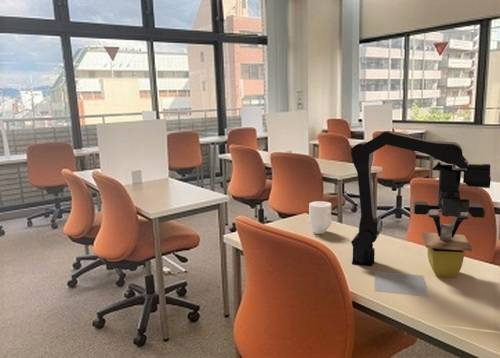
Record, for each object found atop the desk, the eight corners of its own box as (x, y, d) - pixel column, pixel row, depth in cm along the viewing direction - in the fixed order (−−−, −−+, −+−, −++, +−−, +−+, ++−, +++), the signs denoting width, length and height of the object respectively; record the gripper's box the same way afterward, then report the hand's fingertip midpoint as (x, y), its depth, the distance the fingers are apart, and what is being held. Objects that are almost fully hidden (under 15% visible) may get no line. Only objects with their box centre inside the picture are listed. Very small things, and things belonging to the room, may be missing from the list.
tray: (374, 291, 116) (374, 290, 116) (374, 271, 129) (374, 271, 129) (428, 297, 111) (428, 296, 111) (423, 276, 125) (423, 275, 125)
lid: (425, 247, 120) (426, 230, 119) (421, 234, 131) (422, 218, 130) (471, 250, 116) (473, 233, 115) (463, 237, 127) (464, 221, 126)
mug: (304, 230, 171) (305, 202, 169) (322, 228, 175) (323, 200, 173) (320, 238, 161) (321, 208, 158) (338, 235, 164) (340, 206, 162)
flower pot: (463, 281, 120) (465, 252, 119) (431, 279, 122) (433, 250, 121) (454, 269, 129) (456, 242, 127) (425, 267, 131) (426, 240, 129)
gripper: (417, 190, 116) (414, 243, 119) (492, 193, 110) (487, 248, 113) (414, 182, 126) (411, 231, 129) (482, 184, 121) (478, 235, 124)
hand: (445, 236), depth 123 cm, fingers closed on lid, 3 cm apart
